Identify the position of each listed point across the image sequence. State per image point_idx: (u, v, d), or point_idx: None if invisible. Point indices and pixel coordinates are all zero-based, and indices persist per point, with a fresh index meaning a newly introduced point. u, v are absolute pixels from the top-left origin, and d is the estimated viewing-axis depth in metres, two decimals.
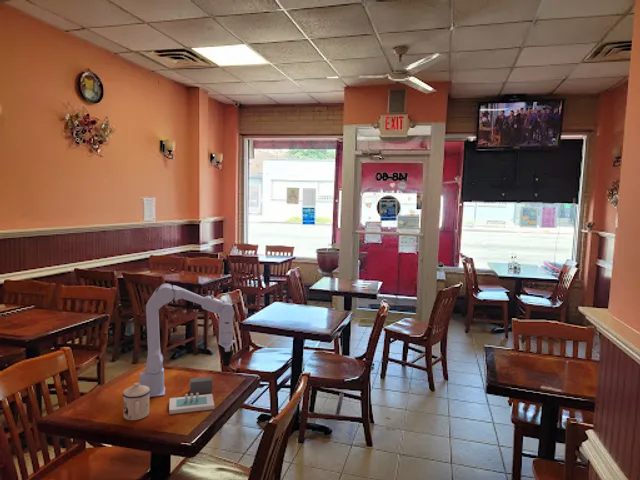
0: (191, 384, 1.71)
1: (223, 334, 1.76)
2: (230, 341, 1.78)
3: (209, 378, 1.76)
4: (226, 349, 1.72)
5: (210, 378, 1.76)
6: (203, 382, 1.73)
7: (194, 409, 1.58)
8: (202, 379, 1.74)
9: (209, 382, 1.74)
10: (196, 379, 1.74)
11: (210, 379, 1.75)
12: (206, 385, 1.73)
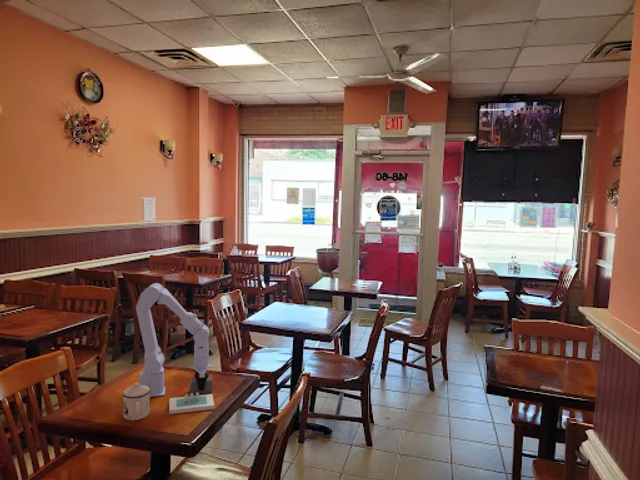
0: (191, 384, 1.71)
1: (198, 359, 1.71)
2: (206, 366, 1.72)
3: (209, 378, 1.76)
4: (201, 375, 1.67)
5: (210, 378, 1.76)
6: None
7: (194, 409, 1.58)
8: None
9: (209, 382, 1.74)
10: None
11: (210, 379, 1.75)
12: (206, 385, 1.73)
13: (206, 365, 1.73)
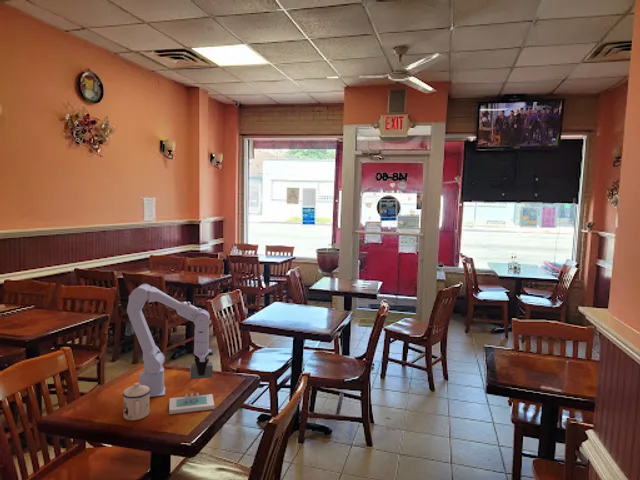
0: (191, 369, 1.71)
1: (198, 344, 1.71)
2: (206, 351, 1.72)
3: (209, 363, 1.75)
4: (201, 359, 1.67)
5: (210, 363, 1.75)
6: None
7: (194, 409, 1.58)
8: None
9: (210, 367, 1.73)
10: None
11: (210, 364, 1.74)
12: (206, 370, 1.73)
13: (206, 350, 1.72)
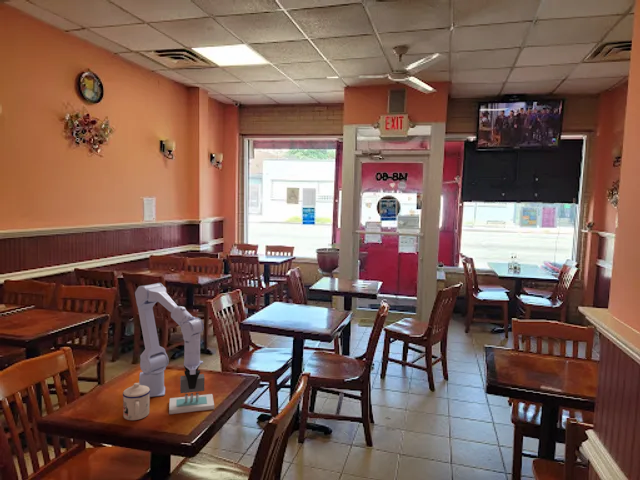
0: (181, 382, 1.58)
1: (189, 355, 1.58)
2: (197, 362, 1.59)
3: (201, 376, 1.63)
4: (191, 372, 1.54)
5: (202, 376, 1.63)
6: None
7: (194, 409, 1.58)
8: None
9: (201, 379, 1.61)
10: None
11: (202, 377, 1.62)
12: (198, 383, 1.60)
13: (197, 361, 1.60)
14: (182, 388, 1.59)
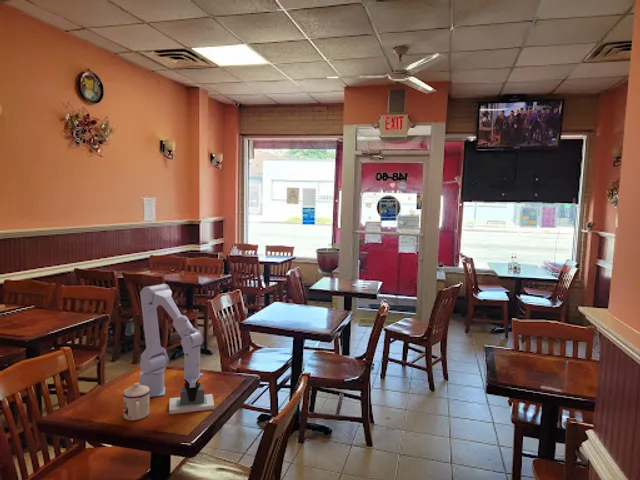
0: (181, 394, 1.59)
1: (188, 367, 1.58)
2: (197, 375, 1.60)
3: (200, 387, 1.63)
4: (191, 385, 1.54)
5: (202, 387, 1.63)
6: None
7: (194, 409, 1.58)
8: None
9: (201, 391, 1.61)
10: None
11: (202, 388, 1.62)
12: (198, 395, 1.61)
13: (197, 374, 1.60)
14: (182, 400, 1.59)
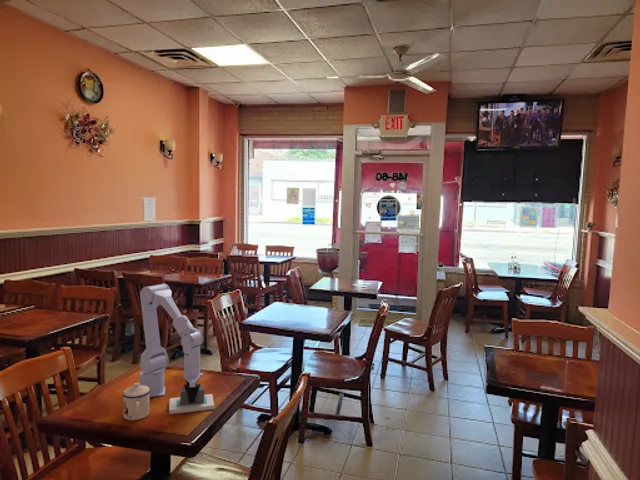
0: (181, 394, 1.59)
1: (188, 367, 1.58)
2: (196, 374, 1.60)
3: (200, 387, 1.63)
4: (191, 385, 1.54)
5: (202, 387, 1.63)
6: None
7: (194, 409, 1.58)
8: None
9: (201, 391, 1.61)
10: None
11: (202, 388, 1.62)
12: (198, 395, 1.61)
13: (197, 373, 1.60)
14: (182, 400, 1.59)
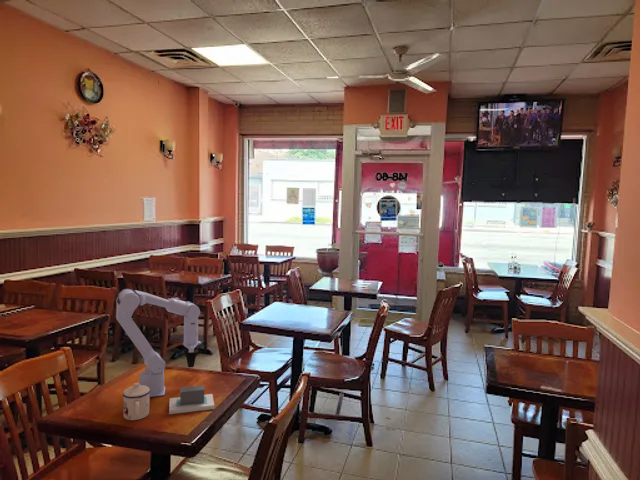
0: (181, 394, 1.59)
1: (188, 335, 1.76)
2: (195, 342, 1.77)
3: (200, 387, 1.63)
4: (190, 350, 1.72)
5: (202, 387, 1.63)
6: (194, 392, 1.60)
7: (194, 409, 1.58)
8: (193, 388, 1.62)
9: (201, 391, 1.61)
10: (187, 388, 1.62)
11: (202, 388, 1.62)
12: (198, 395, 1.61)
13: (195, 341, 1.77)
14: (182, 400, 1.59)
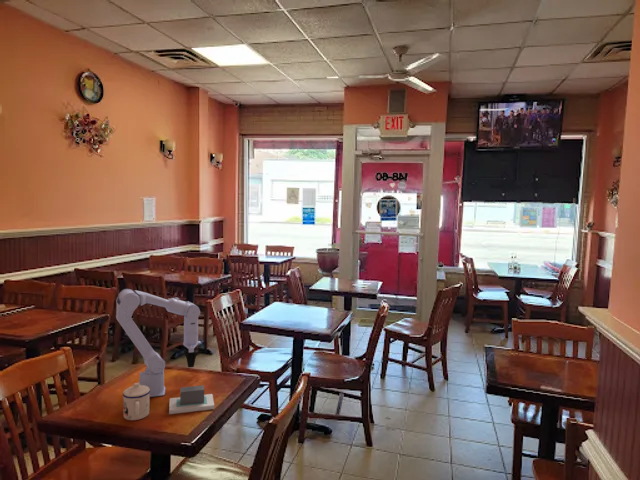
0: (181, 394, 1.59)
1: (188, 335, 1.76)
2: (195, 342, 1.77)
3: (200, 387, 1.63)
4: (190, 350, 1.72)
5: (202, 387, 1.63)
6: (194, 392, 1.60)
7: (194, 409, 1.58)
8: (193, 388, 1.62)
9: (201, 391, 1.61)
10: (187, 388, 1.62)
11: (202, 388, 1.62)
12: (198, 395, 1.61)
13: (195, 341, 1.77)
14: (182, 400, 1.59)
